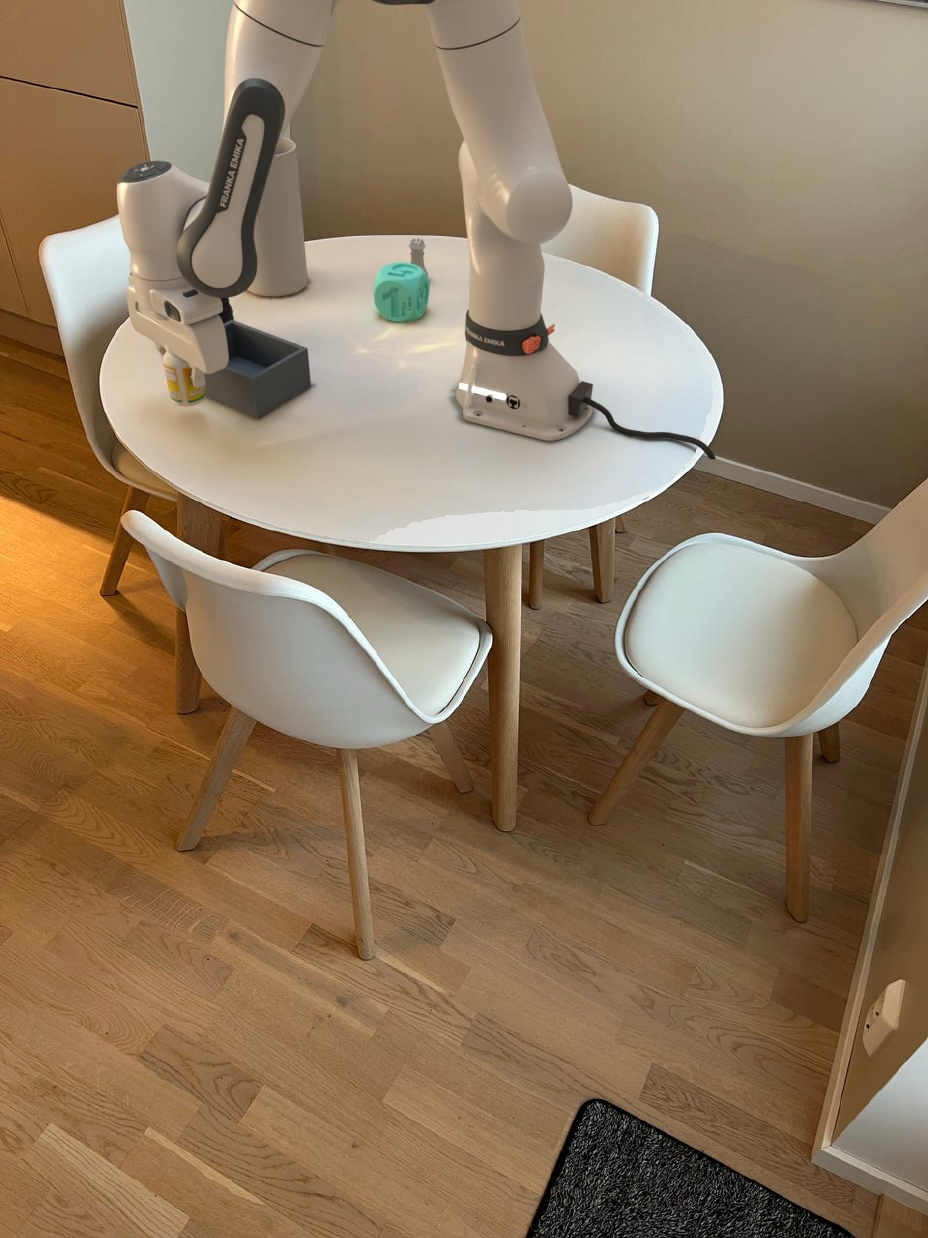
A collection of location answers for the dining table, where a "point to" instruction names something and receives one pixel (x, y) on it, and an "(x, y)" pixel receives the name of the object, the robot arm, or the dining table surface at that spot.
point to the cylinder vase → (281, 228)
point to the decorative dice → (401, 292)
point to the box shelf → (258, 371)
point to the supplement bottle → (181, 381)
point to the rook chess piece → (417, 253)
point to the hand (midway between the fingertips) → (185, 377)
